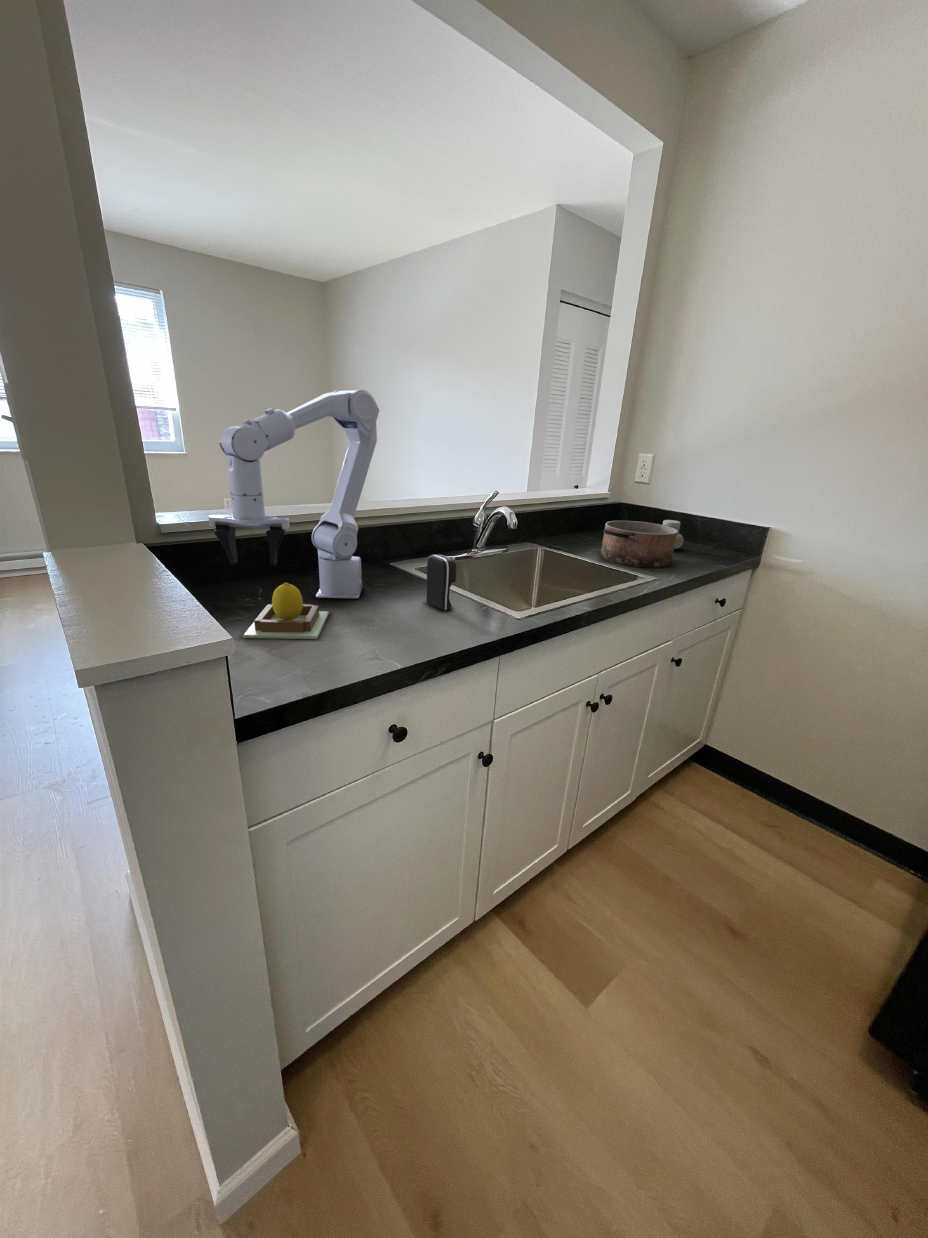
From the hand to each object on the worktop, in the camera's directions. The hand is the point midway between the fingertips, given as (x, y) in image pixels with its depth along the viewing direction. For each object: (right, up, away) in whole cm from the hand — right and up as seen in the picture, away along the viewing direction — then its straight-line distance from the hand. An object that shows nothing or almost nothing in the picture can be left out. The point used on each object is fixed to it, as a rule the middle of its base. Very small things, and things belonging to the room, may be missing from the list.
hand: (254, 563), depth 99 cm
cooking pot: (+99, +9, +65) cm, 119 cm away
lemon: (+8, -12, -3) cm, 15 cm away
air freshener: (+117, +15, +85) cm, 146 cm away
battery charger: (+37, -8, +12) cm, 40 cm away
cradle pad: (+8, -12, -3) cm, 15 cm away
